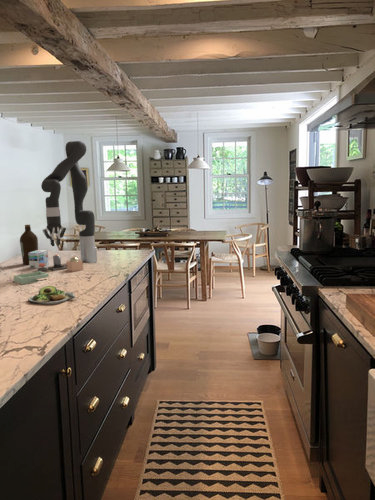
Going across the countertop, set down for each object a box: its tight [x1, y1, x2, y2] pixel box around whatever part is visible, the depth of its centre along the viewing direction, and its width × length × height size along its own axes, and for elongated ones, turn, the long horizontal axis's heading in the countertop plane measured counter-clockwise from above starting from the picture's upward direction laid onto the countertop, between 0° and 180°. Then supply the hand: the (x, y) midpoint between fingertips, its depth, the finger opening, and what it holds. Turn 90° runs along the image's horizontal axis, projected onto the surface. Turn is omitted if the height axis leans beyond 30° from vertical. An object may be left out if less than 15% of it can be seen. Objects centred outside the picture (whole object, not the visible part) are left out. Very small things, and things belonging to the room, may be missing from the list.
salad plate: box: [27, 285, 76, 305], centre depth 166 cm, size 19×18×5 cm
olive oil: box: [19, 224, 39, 266], centre depth 247 cm, size 11×11×25 cm
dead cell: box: [70, 256, 79, 262], centre depth 218 cm, size 4×4×8 cm
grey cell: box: [52, 254, 62, 268], centre depth 222 cm, size 4×4×8 cm
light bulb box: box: [28, 249, 50, 269], centre depth 230 cm, size 11×7×11 cm, turn 168°
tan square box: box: [66, 259, 84, 272], centre depth 218 cm, size 6×6×7 cm
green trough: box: [13, 271, 49, 285], centre depth 201 cm, size 14×10×3 cm
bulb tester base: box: [31, 264, 67, 273], centre depth 220 cm, size 18×10×3 cm, turn 135°
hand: (55, 245), depth 221 cm, fingers open, 2 cm apart
